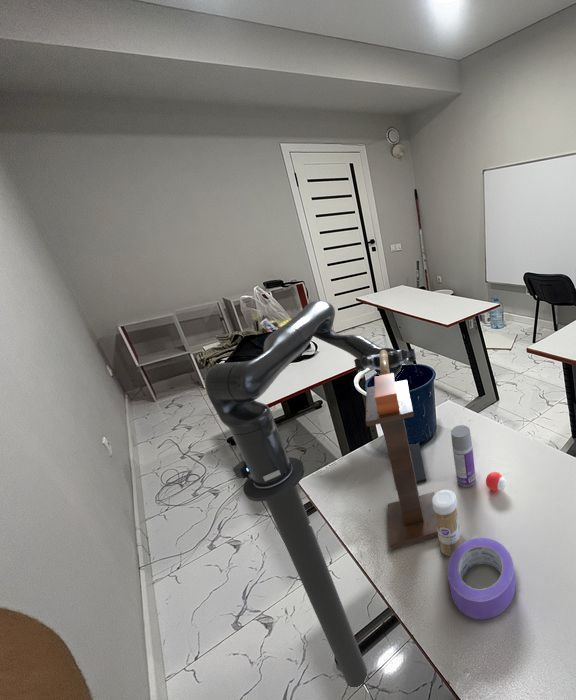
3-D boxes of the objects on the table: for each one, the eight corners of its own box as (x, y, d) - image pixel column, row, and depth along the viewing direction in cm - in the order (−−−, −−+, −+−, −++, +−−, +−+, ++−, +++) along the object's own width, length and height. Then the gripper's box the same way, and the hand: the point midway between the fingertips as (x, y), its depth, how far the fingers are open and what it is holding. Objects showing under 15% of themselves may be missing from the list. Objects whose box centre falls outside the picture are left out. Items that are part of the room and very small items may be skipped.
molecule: (483, 491, 85) (482, 477, 83) (492, 477, 88) (491, 464, 87) (502, 498, 82) (501, 484, 81) (510, 484, 86) (510, 470, 84)
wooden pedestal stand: (443, 537, 74) (421, 409, 61) (390, 552, 72) (356, 423, 59) (434, 494, 85) (414, 378, 72) (388, 506, 83) (358, 389, 70)
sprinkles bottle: (440, 558, 70) (431, 509, 65) (440, 537, 74) (432, 489, 69) (463, 555, 70) (456, 506, 65) (462, 535, 75) (455, 487, 69)
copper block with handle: (399, 411, 61) (396, 393, 60) (378, 415, 61) (374, 397, 59) (392, 357, 82) (389, 343, 80) (376, 360, 81) (373, 346, 80)
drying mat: (394, 447, 103) (394, 445, 102) (418, 441, 104) (418, 440, 104) (398, 487, 88) (398, 485, 88) (426, 480, 90) (425, 478, 89)
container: (472, 471, 91) (467, 423, 85) (478, 484, 87) (473, 434, 81) (455, 475, 90) (448, 427, 84) (459, 489, 86) (453, 439, 80)
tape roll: (438, 580, 66) (434, 563, 64) (485, 543, 72) (484, 525, 70) (478, 636, 57) (475, 618, 55) (528, 588, 64) (528, 569, 62)
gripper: (416, 371, 97) (418, 367, 81) (363, 382, 94) (354, 379, 78) (411, 345, 98) (412, 335, 82) (358, 354, 95) (348, 346, 79)
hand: (384, 357), depth 80 cm, fingers open, 8 cm apart
